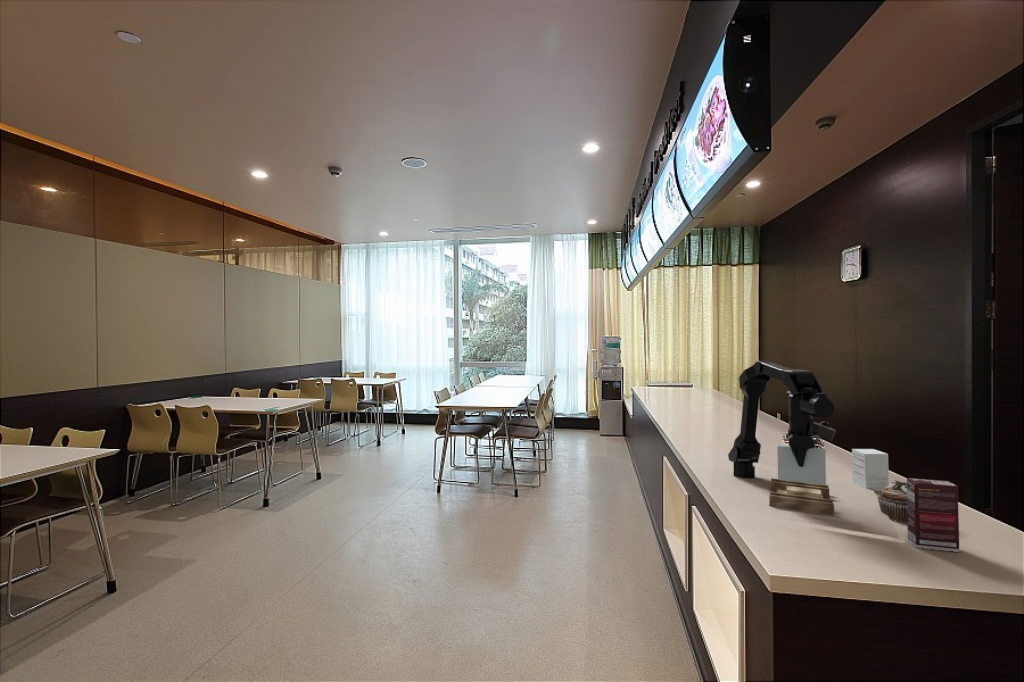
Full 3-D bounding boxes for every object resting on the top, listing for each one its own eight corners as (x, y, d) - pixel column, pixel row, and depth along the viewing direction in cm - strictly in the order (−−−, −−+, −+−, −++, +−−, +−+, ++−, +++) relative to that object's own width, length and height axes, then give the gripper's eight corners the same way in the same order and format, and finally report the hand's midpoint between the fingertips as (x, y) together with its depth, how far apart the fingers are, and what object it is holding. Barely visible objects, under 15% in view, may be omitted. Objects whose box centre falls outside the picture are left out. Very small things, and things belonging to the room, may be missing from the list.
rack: (769, 508, 141) (769, 495, 141) (771, 490, 158) (770, 478, 158) (834, 518, 133) (834, 504, 133) (828, 497, 150) (828, 485, 150)
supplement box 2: (948, 544, 116) (948, 480, 116) (960, 553, 111) (959, 486, 111) (905, 540, 119) (905, 477, 118) (915, 548, 114) (914, 482, 114)
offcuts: (777, 499, 146) (777, 488, 146) (777, 494, 151) (777, 484, 151) (823, 505, 140) (823, 494, 140) (822, 500, 145) (822, 490, 145)
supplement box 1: (874, 485, 163) (874, 448, 163) (889, 492, 155) (889, 453, 155) (851, 484, 163) (851, 448, 163) (865, 491, 156) (865, 453, 156)
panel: (777, 479, 141) (777, 445, 141) (778, 478, 143) (777, 444, 143) (825, 484, 135) (825, 450, 135) (825, 483, 137) (825, 448, 137)
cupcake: (880, 508, 140) (880, 475, 140) (923, 517, 134) (923, 482, 134) (874, 517, 134) (874, 482, 134) (919, 526, 127) (919, 489, 127)
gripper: (836, 419, 127) (837, 477, 127) (830, 410, 143) (830, 462, 143) (788, 416, 133) (789, 472, 133) (787, 408, 149) (788, 458, 149)
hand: (800, 466), depth 139 cm, fingers closed on panel, 2 cm apart
